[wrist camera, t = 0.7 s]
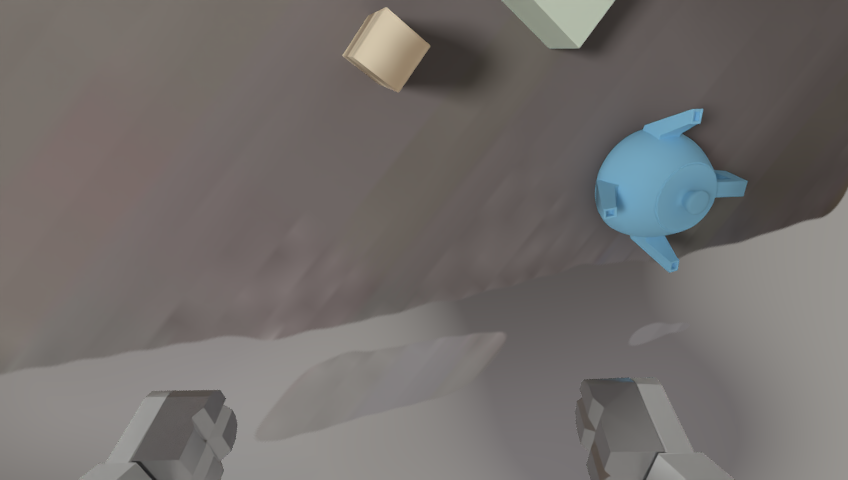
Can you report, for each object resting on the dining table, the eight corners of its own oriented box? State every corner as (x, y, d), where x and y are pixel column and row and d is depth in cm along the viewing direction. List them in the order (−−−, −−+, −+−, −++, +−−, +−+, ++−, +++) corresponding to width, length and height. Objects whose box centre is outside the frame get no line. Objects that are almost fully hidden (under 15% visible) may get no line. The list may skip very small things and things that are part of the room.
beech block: (342, 55, 44) (353, 57, 35) (367, 16, 43) (386, 7, 34) (379, 84, 46) (398, 92, 37) (404, 46, 45) (430, 45, 36)
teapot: (624, 252, 63) (683, 288, 54) (560, 193, 57) (614, 223, 47) (701, 167, 61) (777, 189, 51) (643, 95, 54) (717, 105, 45)
